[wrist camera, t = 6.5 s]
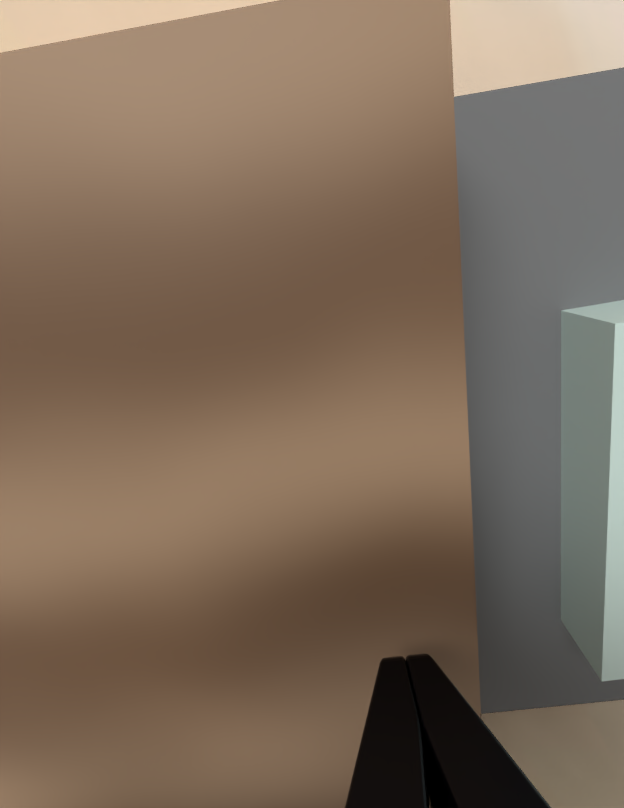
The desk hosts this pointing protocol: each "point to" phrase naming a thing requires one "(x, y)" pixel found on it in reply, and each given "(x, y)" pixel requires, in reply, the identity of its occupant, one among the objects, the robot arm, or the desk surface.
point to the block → (593, 483)
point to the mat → (531, 356)
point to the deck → (228, 401)
